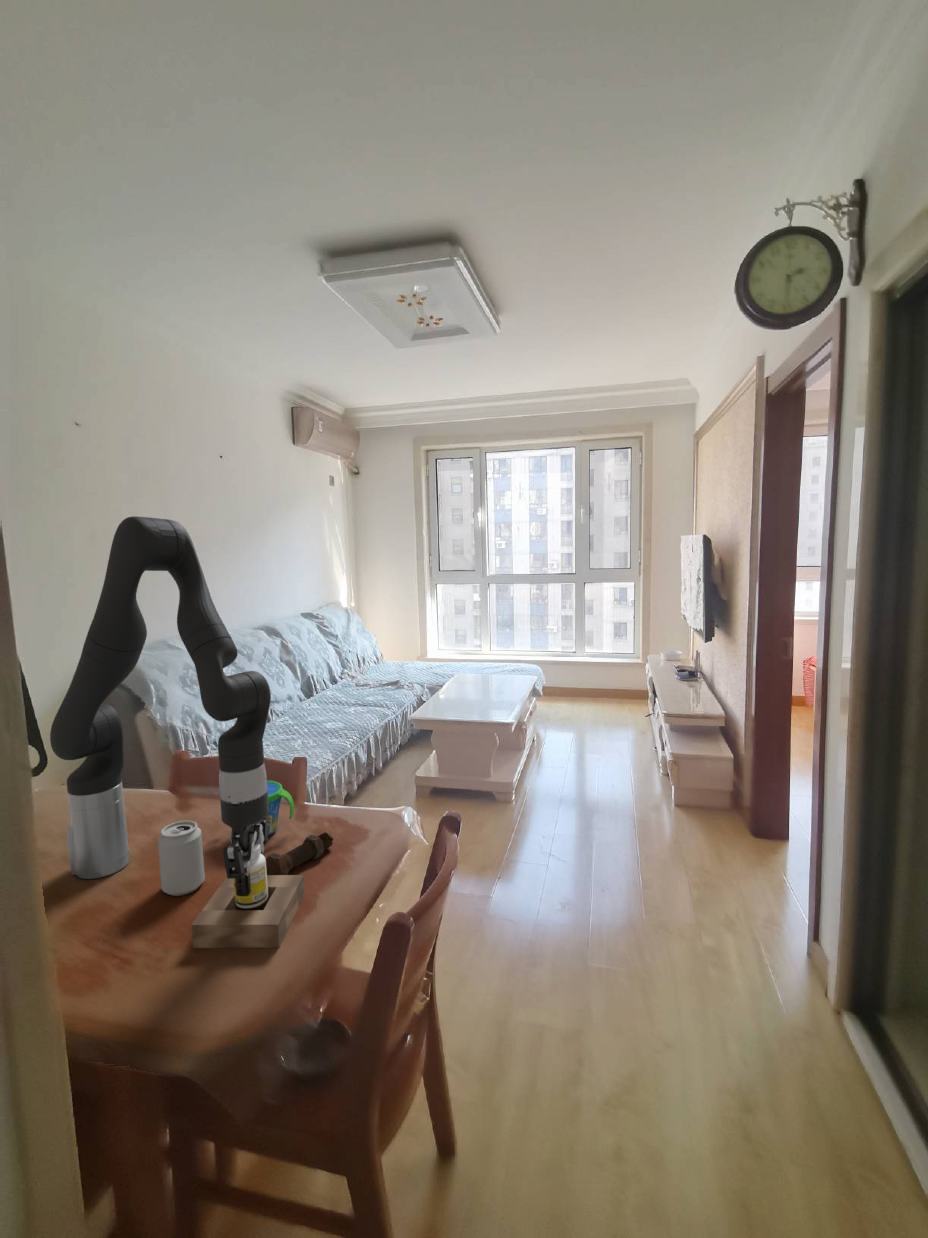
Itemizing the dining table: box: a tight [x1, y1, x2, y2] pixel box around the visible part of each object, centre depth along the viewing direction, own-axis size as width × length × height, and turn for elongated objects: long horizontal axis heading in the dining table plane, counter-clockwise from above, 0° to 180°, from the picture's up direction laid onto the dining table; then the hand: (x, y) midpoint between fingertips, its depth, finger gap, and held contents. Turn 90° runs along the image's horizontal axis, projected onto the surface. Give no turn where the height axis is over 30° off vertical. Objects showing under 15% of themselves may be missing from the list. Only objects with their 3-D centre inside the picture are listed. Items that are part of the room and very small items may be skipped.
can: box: [157, 820, 206, 897], centre depth 110 cm, size 8×8×12 cm
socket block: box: [190, 874, 305, 949], centre depth 100 cm, size 14×14×4 cm
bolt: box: [265, 831, 334, 875], centre depth 118 cm, size 6×5×15 cm
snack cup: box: [267, 780, 295, 836], centre depth 131 cm, size 16×10×10 cm
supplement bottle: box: [233, 842, 268, 910], centre depth 99 cm, size 5×5×10 cm
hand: (250, 884), depth 100 cm, fingers closed on supplement bottle, 5 cm apart
